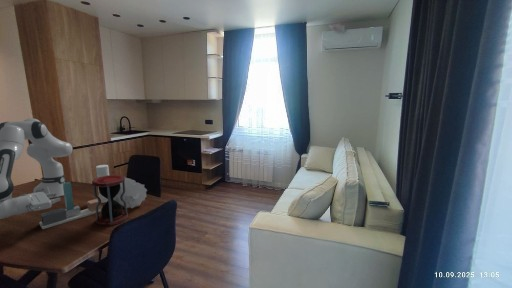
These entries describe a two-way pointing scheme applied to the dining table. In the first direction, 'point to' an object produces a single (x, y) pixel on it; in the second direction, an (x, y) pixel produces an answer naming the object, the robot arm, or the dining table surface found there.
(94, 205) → the salmon pink block
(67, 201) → the teal oblong box
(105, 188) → the hourglass
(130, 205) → the spiral staircase
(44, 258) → the dining table surface
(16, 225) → the dining table surface
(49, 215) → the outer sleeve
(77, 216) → the base board
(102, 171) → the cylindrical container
